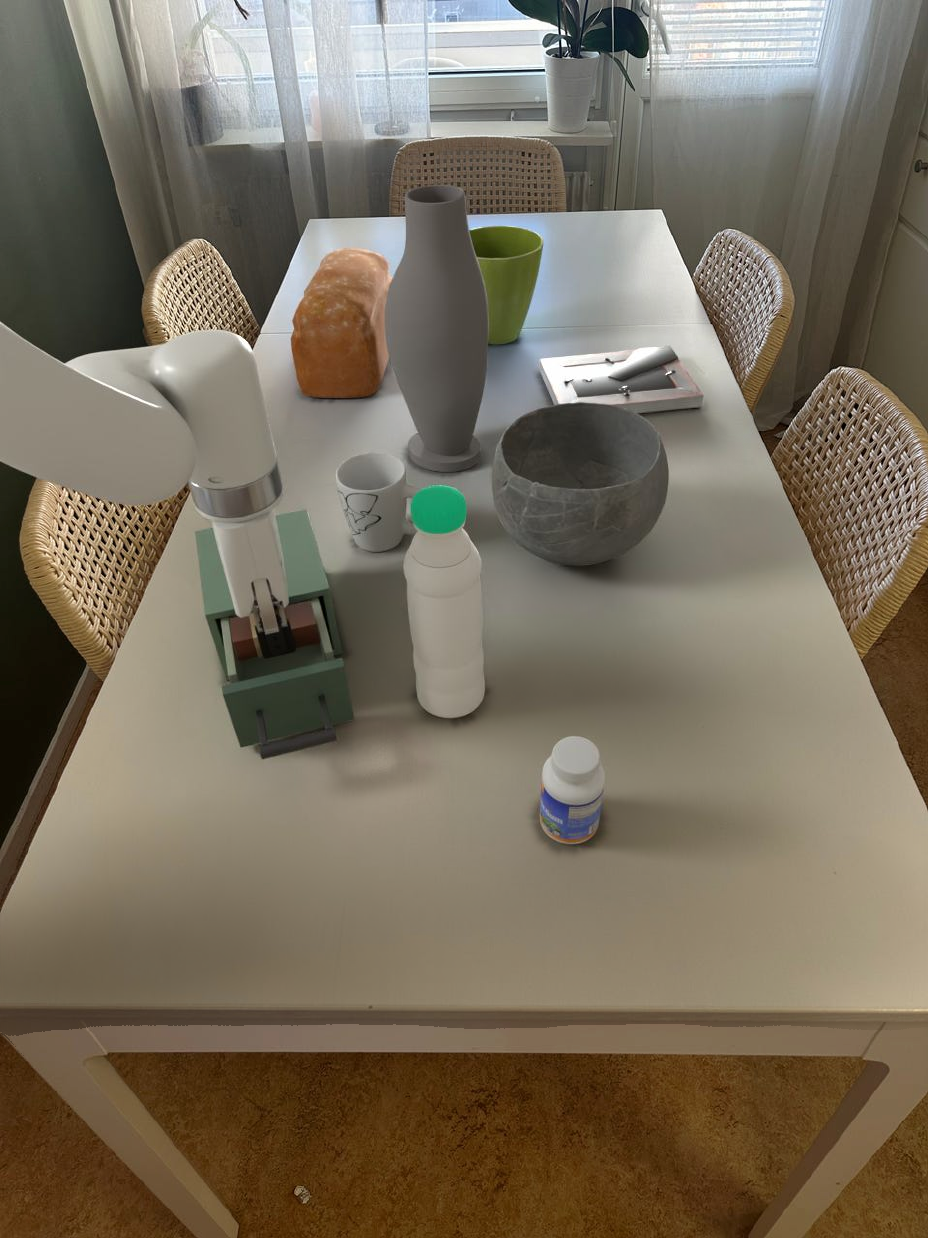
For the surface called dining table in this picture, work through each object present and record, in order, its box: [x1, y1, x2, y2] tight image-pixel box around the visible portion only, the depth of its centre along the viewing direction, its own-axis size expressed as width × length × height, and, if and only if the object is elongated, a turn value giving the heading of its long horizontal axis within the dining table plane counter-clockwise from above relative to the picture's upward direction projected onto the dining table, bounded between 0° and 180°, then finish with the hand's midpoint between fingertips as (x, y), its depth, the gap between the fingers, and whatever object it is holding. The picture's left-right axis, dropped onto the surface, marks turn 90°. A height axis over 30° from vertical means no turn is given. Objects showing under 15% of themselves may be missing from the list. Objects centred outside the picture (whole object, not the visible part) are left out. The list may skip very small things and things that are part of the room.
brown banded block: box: [229, 601, 320, 661], centre depth 84 cm, size 4×8×3 cm, turn 107°
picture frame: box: [538, 345, 705, 415], centre depth 135 cm, size 16×2×22 cm
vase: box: [385, 184, 489, 473], centre depth 112 cm, size 13×13×35 cm
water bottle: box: [403, 484, 486, 719], centre depth 82 cm, size 7×7×25 cm
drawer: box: [221, 597, 355, 760], centre depth 86 cm, size 19×11×8 cm, turn 17°
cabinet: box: [194, 508, 343, 681], centre depth 96 cm, size 15×13×10 cm
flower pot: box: [469, 225, 545, 345], centre depth 146 cm, size 15×15×16 cm
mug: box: [335, 451, 423, 553], centre depth 106 cm, size 11×8×10 cm
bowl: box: [490, 402, 670, 567], centre depth 103 cm, size 20×20×15 cm
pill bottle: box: [539, 735, 606, 845], centre depth 75 cm, size 5×5×10 cm
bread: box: [290, 247, 393, 399], centre depth 141 cm, size 14×26×16 cm, turn 176°
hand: (276, 637), depth 85 cm, fingers closed on brown banded block, 3 cm apart
